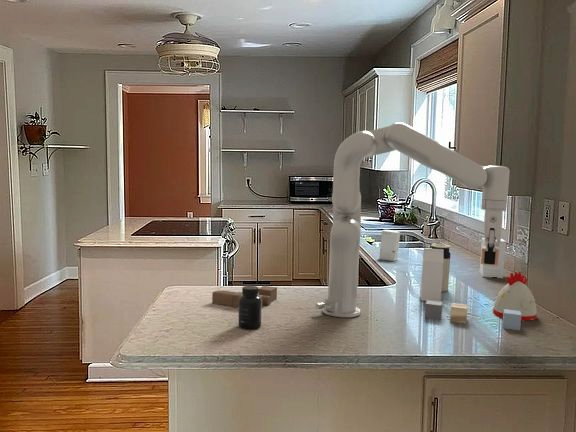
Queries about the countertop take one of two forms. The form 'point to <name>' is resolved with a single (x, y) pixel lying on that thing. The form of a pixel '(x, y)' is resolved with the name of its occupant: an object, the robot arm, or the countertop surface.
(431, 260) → the milk carton
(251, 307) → the supplement bottle
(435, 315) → the charcoal block
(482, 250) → the terracotta block
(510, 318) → the slate block
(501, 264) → the supplement box
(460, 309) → the maple block
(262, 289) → the wooden block set
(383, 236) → the skincare box
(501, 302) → the kitchen timer
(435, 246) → the travel mug
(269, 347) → the countertop surface
